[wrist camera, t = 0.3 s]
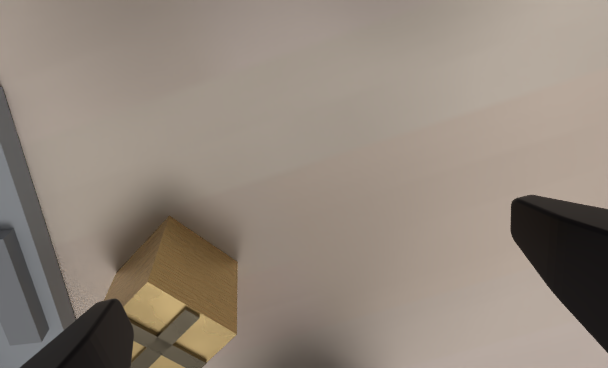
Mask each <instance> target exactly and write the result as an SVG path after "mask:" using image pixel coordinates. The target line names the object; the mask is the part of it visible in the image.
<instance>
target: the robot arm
mask: <svg viewBox="0 0 608 368" xmlns="http://www.w3.org/2000/svg"><path fill="white" fill-rule="evenodd" d="M511 234H512V237H513V239H514V241H515V242H516V244H517V245H518V246H519V248H520V249H521V250H522V252H523V253H524V255H525V256H526V257H527V259H528V260H529V261H530V263H531V264H532V265H533V267H534V268H535V269H536V271H537V272H538V273H539V275H540V276H541V278H542V279H543V280H544V282H545V283H546V284H547V286H548V287H549V288H550V289H551V291H552V292H553V293H554V294H555V295H556V296H557V298H558V299H559V300H560V301H561V302H562V303H563V304H564V306H565V307H566V308H567V309H568V310H569V311H570V312H571V313H572V314H573V315H574V316H575V318H576V319H577V320H578V321H579V322H580V323H581V324H582V325H583V326H584V327H585V329H586V330H587V331H588V332H589V333H590V334H591V335H592V336H593V337H594V338H595V339H596V341H597V342H598V343H599V344H600V345H601V346H602V347H603V348H604V349H605V350H606V352H607V353H608V209H604V208H598V207H593V206H588V205H583V204H578V203H572V202H567V201H562V200H557V199H552V198H546V197H541V196H536V195H527V196H523V197H519V198H516V199H514V200H513V201H512V204H511ZM133 342H134V330H133V326H132V324H131V322H130V320H129V318H128V316H127V314H126V312H125V310H124V308H123V306H122V304H121V302H120V301H119V300H118V299H115V298H113V299H109V300H105V301H101V302H98V303H96V304H95V305H93V306H92V307H91V308H90V309H89V310H87V311H86V312H85V313H84V314H83V315H81V316H80V317H79V318H78V319H77V320H76V321H74V322H73V323H72V324H71V325H70V326H68V327H67V328H66V329H65V330H64V331H62V332H61V333H60V334H59V335H58V336H57V337H55V338H54V339H53V340H52V341H51V342H49V343H48V344H47V345H46V346H45V347H43V348H42V349H41V350H40V351H39V352H37V353H36V354H35V355H34V356H33V357H32V358H30V359H29V360H28V361H27V362H26V363H24V364H23V365H22V366H21V367H20V368H131V360H132V351H133Z"/></svg>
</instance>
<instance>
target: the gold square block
mask: <svg viewBox="0 0 608 368" xmlns="http://www.w3.org/2000/svg"><path fill="white" fill-rule="evenodd" d="M113 298H115V299H118V300H119V301H120V302H121V304H122V306H123V308H124V310H125V312H126V314H127V316H128V318H129V320H130V322H131V324H132V326H133V330H134V342H133V351H132V360H131V368H202V367H203V366H204V365H205V364H206V363H207V362H208V361H209V360H210V359H211V358H212V357H213V356H214V355H215V354H216V353H217V352H218V351H219V350H221V349H222V348H223V347H224V346H225V345H226V344H227V343H228V342H229V341H230V340H231V339H232V338H233V337H234V336H236V335H237V261H235V260H234V259H232V258H231V257H229V256H228V255H226V254H225V253H223V252H222V251H220V250H219V249H218V248H216V247H215V246H213V245H212V244H210V243H209V242H207V241H206V240H204V239H203V238H201V237H200V236H198V235H197V234H195V233H194V232H192V231H191V230H190V229H188V228H187V227H185V226H184V225H182V224H181V223H179V222H178V221H176V220H175V219H173V218H172V217H170V216H169V217H168V218H167V219H166V220H165V221H164V222H163V223H162V224H161V225H160V227H159V228H158V229H157V230H156V231H155V232H154V233H153V234H152V235H151V236H150V237H149V238H148V239H147V241H146V242H145V243H144V244H143V245H142V246H141V247H140V248H139V249H138V250H137V251H136V252H135V254H134V255H133V256H132V257H131V258H130V259H129V260H128V261H127V262H126V263H125V264H124V265H123V266H122V268H121V269H120V270H119V271H118V272H117V273H116V275H115V277H114V280H113V282H112V284H111V286H110V288H109V290H108V293H107V295H106V297H105V299H104V301H105V300H109V299H113Z"/></svg>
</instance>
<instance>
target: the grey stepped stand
mask: <svg viewBox="0 0 608 368" xmlns="http://www.w3.org/2000/svg"><path fill="white" fill-rule="evenodd" d="M74 321H76V319H75V316H74V313H73V309H72V306H71V303H70V300H69V297H68V294H67V290H66V287H65V284H64V281H63V278H62V275H61V271H60V268H59V265H58V262H57V259H56V256H55V252H54V249H53V246H52V243H51V240H50V237H49V233H48V230H47V227H46V224H45V221H44V218H43V214H42V211H41V208H40V205H39V202H38V199H37V195H36V192H35V189H34V186H33V183H32V180H31V176H30V173H29V170H28V167H27V164H26V161H25V157H24V154H23V151H22V148H21V145H20V142H19V138H18V135H17V132H16V129H15V126H14V123H13V119H12V116H11V113H10V110H9V107H8V104H7V100H6V97H5V94H4V91H3V88H2V87H0V368H20V367H21V366H22V365H23V364H24V363H26V362H27V361H28V360H29V359H30V358H32V357H33V356H34V355H35V354H36V353H37V352H39V351H40V350H41V349H42V348H43V347H45V346H46V345H47V344H48V343H49V342H51V341H52V340H53V339H54V338H55V337H57V336H58V335H59V334H60V333H61V332H62V331H64V330H65V329H66V328H67V327H68V326H70V325H71V324H72V323H73V322H74Z"/></svg>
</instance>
